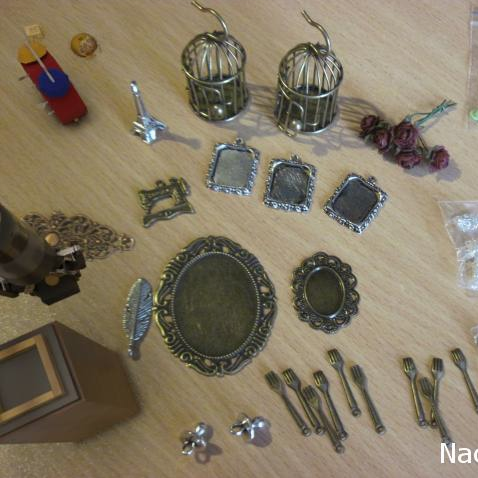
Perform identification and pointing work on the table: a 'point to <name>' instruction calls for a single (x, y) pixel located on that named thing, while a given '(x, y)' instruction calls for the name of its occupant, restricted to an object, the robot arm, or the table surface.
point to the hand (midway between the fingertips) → (57, 283)
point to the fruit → (85, 46)
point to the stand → (60, 387)
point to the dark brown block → (56, 289)
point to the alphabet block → (33, 33)
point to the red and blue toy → (51, 82)
